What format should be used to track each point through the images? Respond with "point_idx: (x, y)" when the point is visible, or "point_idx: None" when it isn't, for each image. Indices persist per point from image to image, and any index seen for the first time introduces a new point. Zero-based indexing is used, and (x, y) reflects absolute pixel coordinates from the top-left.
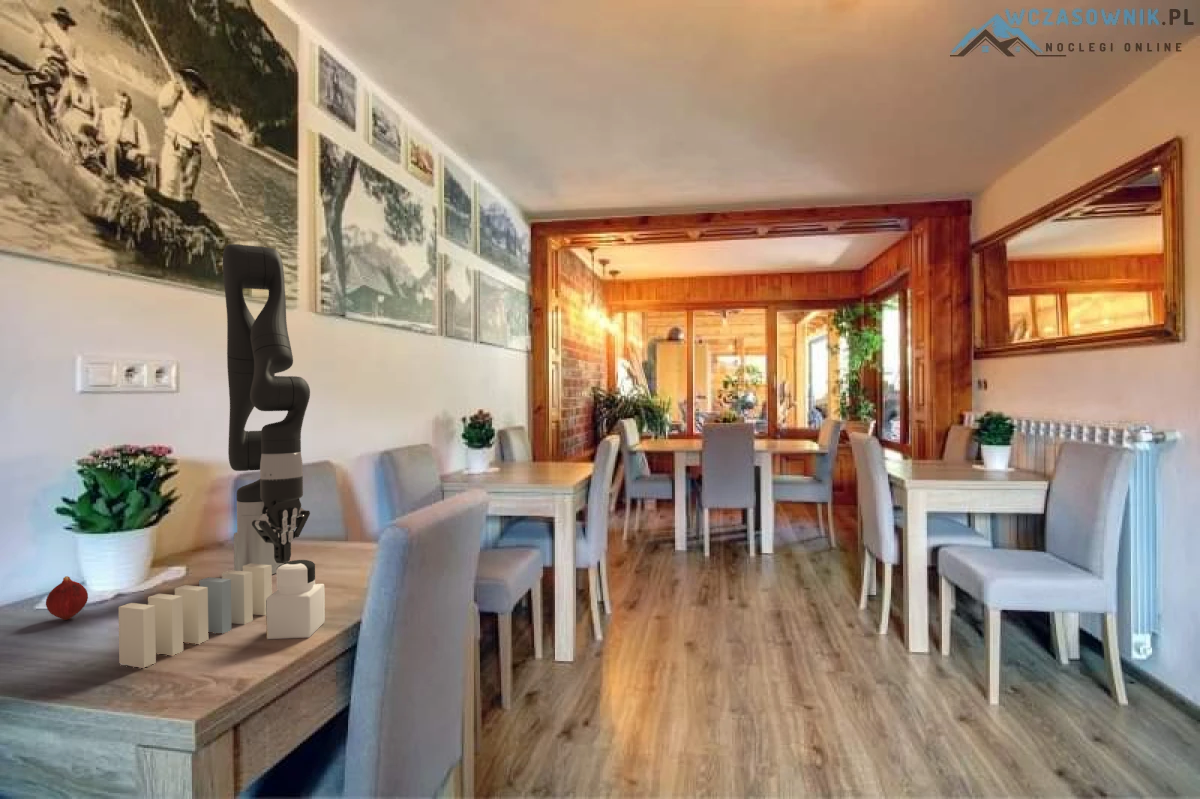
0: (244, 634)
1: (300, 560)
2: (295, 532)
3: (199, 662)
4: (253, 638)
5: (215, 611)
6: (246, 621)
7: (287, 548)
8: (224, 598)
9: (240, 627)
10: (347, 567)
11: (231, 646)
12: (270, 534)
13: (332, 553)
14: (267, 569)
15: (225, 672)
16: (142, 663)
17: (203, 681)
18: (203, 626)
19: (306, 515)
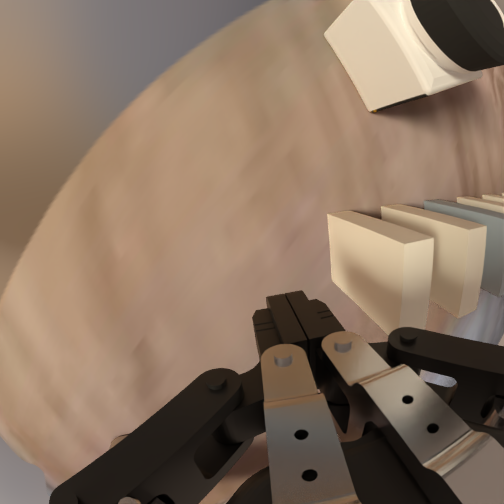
0: (427, 154)
1: (476, 1)
2: (234, 397)
3: (489, 135)
4: (431, 121)
5: None
6: (397, 205)
7: (297, 323)
8: (486, 210)
9: (410, 197)
10: (16, 337)
11: (457, 133)
12: (473, 347)
13: (18, 419)
14: (413, 237)
15: (484, 76)
16: None
17: (498, 87)
18: (483, 200)
19: (91, 495)
